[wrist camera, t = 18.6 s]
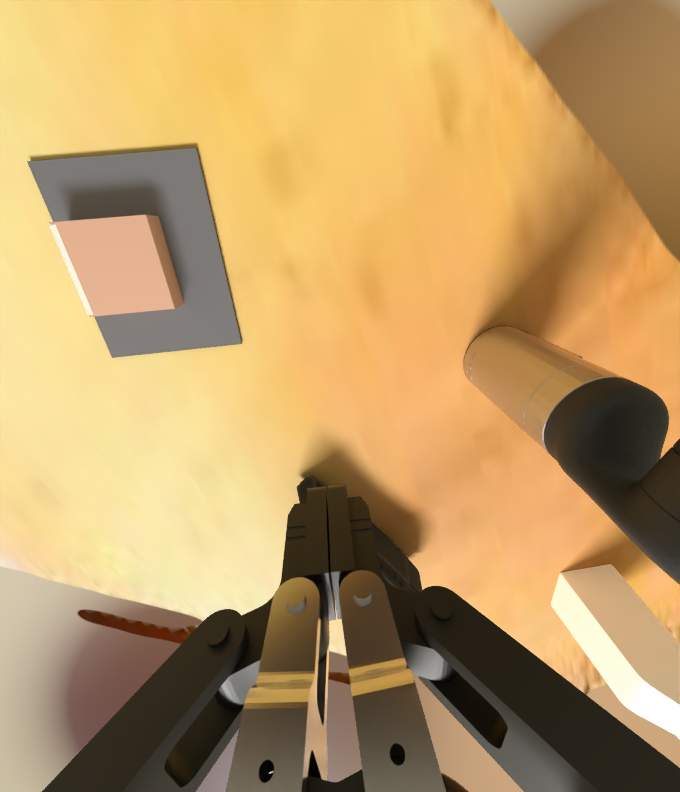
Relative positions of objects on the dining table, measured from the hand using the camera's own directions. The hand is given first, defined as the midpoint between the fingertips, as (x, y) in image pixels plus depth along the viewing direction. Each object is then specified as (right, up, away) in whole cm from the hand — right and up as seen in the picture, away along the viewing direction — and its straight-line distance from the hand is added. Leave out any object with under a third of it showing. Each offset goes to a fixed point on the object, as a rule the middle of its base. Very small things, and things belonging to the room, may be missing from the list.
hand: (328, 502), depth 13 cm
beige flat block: (-18, +18, +22) cm, 34 cm away
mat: (-21, +19, +23) cm, 37 cm away
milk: (+55, -39, +60) cm, 90 cm away
